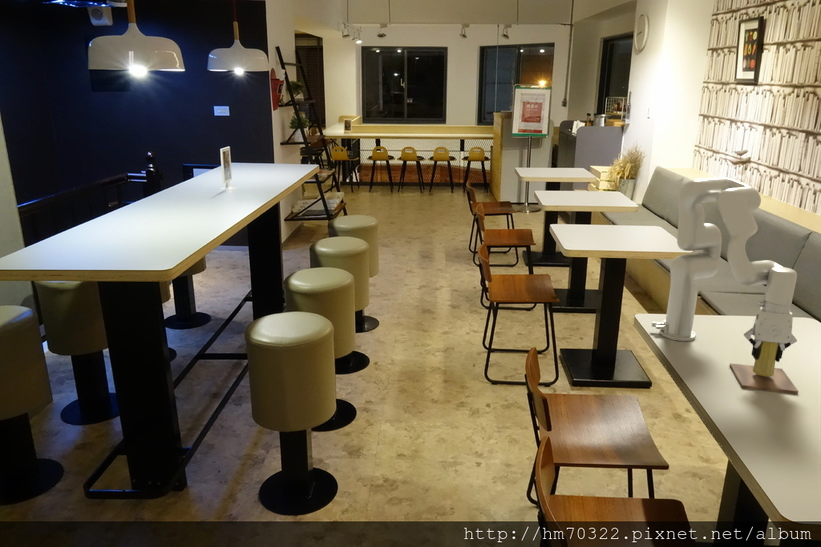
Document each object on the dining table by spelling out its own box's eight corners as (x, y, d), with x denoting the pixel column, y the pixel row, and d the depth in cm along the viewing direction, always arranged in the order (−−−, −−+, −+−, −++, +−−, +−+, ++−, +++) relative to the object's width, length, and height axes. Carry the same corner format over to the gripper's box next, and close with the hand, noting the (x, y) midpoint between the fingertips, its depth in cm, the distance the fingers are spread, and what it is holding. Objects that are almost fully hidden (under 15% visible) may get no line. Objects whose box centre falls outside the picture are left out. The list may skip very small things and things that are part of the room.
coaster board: (741, 387, 198) (742, 385, 197) (729, 366, 213) (730, 363, 212) (797, 394, 194) (798, 391, 194) (781, 371, 209) (782, 368, 209)
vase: (776, 377, 199) (785, 336, 195) (755, 375, 201) (763, 334, 196) (770, 369, 205) (778, 329, 201) (749, 367, 206) (757, 327, 202)
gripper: (749, 308, 194) (739, 361, 200) (811, 313, 190) (799, 367, 196) (743, 299, 201) (733, 351, 207) (802, 304, 197) (791, 357, 203)
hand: (765, 358), depth 201 cm, fingers closed on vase, 5 cm apart
